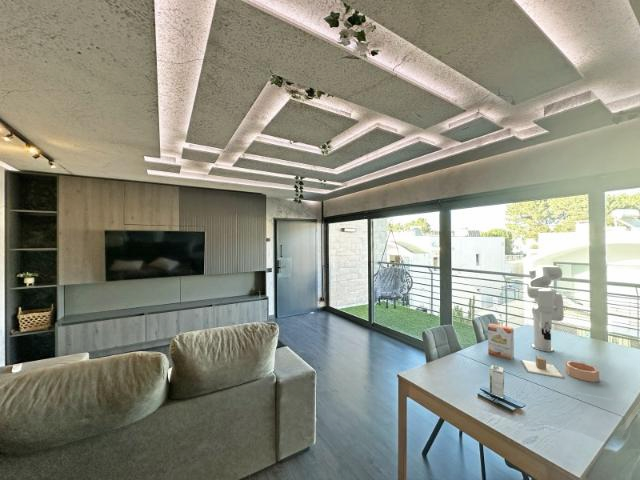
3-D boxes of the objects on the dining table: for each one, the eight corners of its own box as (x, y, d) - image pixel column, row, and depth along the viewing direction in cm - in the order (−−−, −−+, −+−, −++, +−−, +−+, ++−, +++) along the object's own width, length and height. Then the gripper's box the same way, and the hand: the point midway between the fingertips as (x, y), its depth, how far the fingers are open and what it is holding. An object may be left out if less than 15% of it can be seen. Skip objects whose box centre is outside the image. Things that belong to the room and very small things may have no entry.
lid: (521, 361, 172) (521, 350, 173) (553, 366, 165) (552, 355, 165) (528, 372, 158) (528, 360, 158) (562, 378, 151) (562, 366, 151)
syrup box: (491, 391, 140) (490, 364, 140) (504, 395, 136) (504, 367, 136) (489, 396, 135) (489, 368, 135) (503, 400, 131) (503, 371, 131)
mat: (519, 360, 174) (519, 360, 174) (554, 366, 166) (554, 365, 166) (526, 373, 158) (526, 372, 158) (565, 380, 150) (565, 379, 150)
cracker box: (487, 353, 186) (487, 324, 186) (491, 351, 189) (490, 322, 189) (511, 360, 174) (510, 329, 175) (514, 358, 178) (513, 327, 178)
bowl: (563, 369, 162) (563, 359, 162) (591, 374, 156) (591, 364, 156) (572, 379, 150) (571, 369, 150) (602, 384, 144) (602, 374, 145)
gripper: (536, 306, 169) (536, 332, 169) (539, 311, 155) (540, 340, 155) (551, 307, 165) (551, 334, 164) (556, 313, 151) (556, 343, 150)
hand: (546, 337), depth 160 cm, fingers open, 9 cm apart
